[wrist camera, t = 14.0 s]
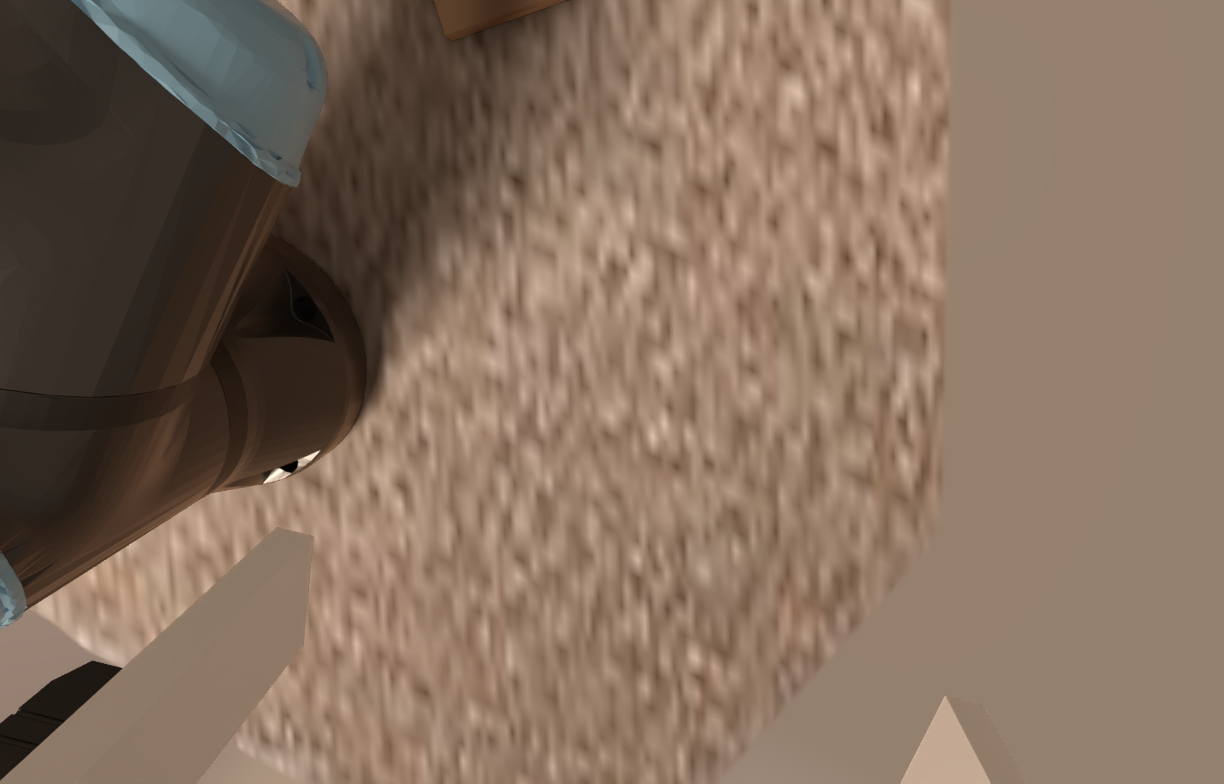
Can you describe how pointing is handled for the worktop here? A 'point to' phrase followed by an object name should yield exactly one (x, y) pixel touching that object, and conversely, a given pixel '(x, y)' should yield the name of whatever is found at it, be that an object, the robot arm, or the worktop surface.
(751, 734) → the worktop surface
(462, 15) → the walnut shelf
